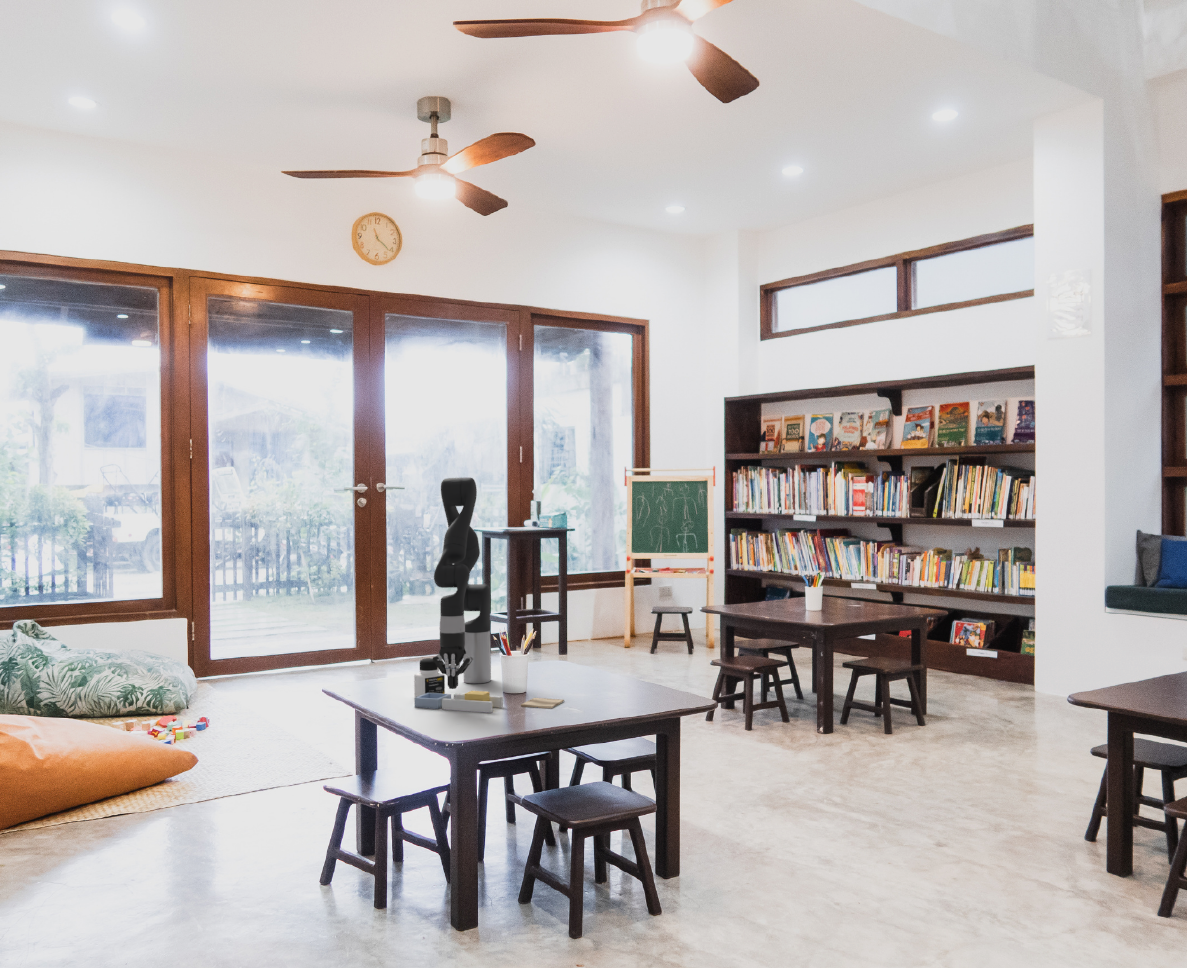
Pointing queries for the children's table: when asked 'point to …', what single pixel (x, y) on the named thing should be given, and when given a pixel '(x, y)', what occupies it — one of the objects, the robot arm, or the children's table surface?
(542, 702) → the cork pad
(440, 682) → the medicine bottle
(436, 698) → the bin
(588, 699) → the children's table surface
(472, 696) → the ochre block
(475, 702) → the frosted channel
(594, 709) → the children's table surface
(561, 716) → the children's table surface
